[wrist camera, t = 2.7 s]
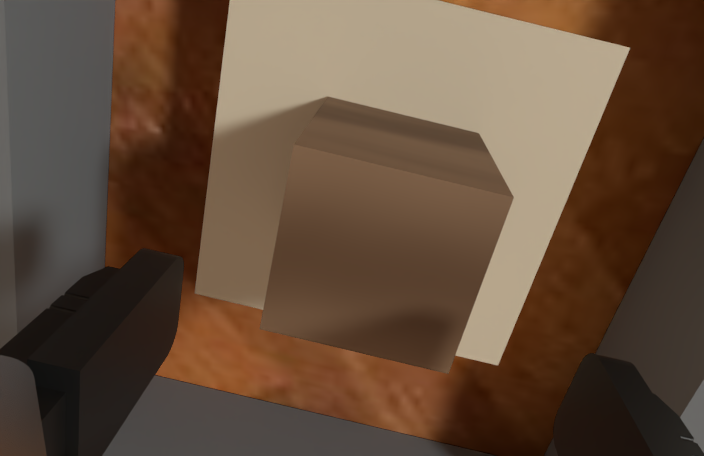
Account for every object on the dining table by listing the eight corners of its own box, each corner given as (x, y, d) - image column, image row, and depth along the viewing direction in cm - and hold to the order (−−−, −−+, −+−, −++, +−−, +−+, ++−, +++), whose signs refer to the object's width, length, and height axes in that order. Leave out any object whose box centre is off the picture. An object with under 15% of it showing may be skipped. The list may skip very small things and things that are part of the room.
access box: (75, -447, 15) (-112, -697, 10) (947, -226, 15) (1250, -346, 10) (68, 380, 27) (-17, 479, 22) (558, 495, 27) (597, 621, 22)
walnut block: (327, 96, 17) (293, 144, 12) (478, 133, 17) (514, 197, 12) (299, 233, 19) (259, 328, 14) (435, 266, 20) (448, 374, 14)
